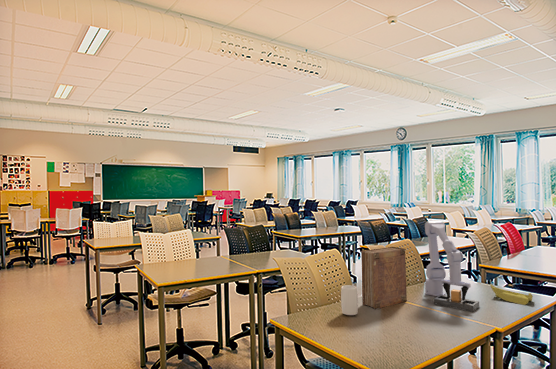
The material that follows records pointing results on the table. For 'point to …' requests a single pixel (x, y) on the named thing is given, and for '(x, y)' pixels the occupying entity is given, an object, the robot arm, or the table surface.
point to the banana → (512, 296)
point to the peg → (456, 295)
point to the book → (383, 277)
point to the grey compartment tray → (457, 303)
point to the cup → (349, 300)
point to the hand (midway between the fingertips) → (456, 298)
